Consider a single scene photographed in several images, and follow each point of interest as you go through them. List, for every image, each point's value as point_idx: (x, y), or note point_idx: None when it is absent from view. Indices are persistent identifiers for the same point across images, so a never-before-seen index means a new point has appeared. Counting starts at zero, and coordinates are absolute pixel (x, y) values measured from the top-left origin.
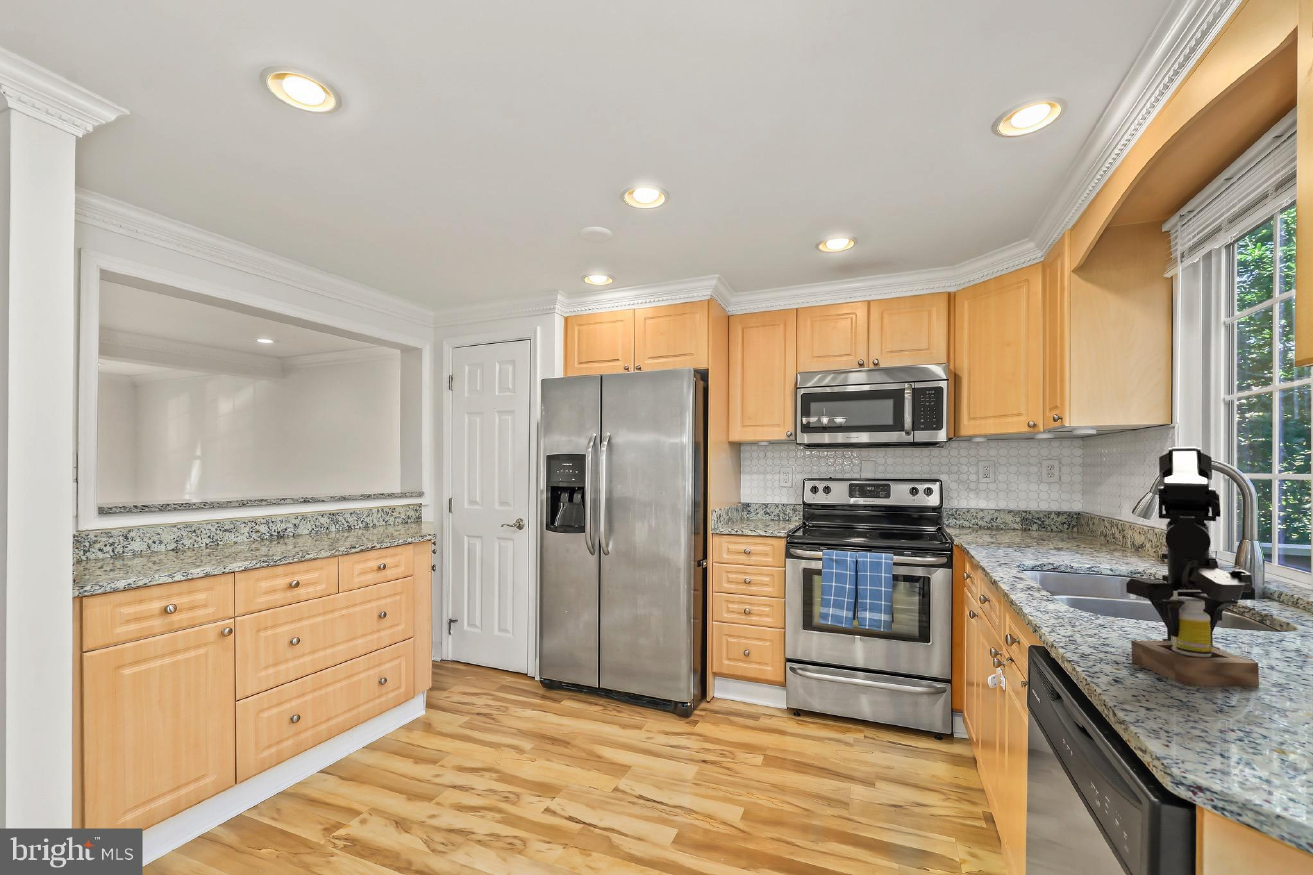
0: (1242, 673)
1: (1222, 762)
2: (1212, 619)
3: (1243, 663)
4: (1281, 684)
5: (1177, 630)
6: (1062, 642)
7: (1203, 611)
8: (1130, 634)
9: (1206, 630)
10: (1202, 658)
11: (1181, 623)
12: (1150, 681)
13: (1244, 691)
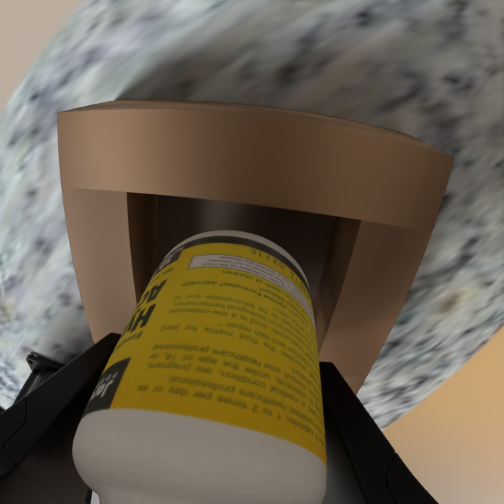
0: (155, 103)
1: None
2: (59, 413)
3: (126, 110)
4: (31, 129)
5: (338, 390)
6: None
7: (70, 478)
8: None
9: (185, 338)
10: (298, 195)
11: (324, 431)
12: (474, 201)
13: (224, 51)
